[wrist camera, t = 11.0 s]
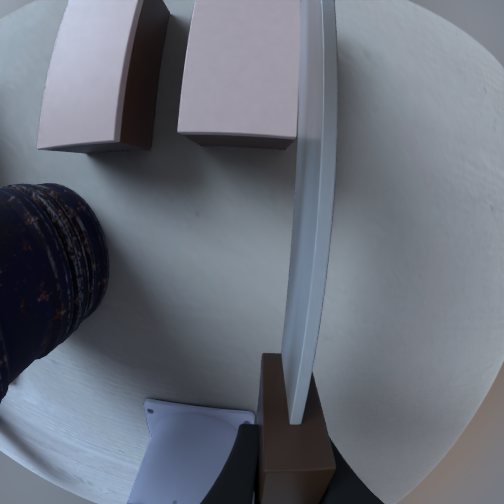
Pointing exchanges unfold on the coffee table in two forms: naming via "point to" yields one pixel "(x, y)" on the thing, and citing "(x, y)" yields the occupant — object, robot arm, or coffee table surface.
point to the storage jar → (45, 272)
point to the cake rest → (104, 77)
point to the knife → (303, 285)
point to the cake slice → (242, 74)
